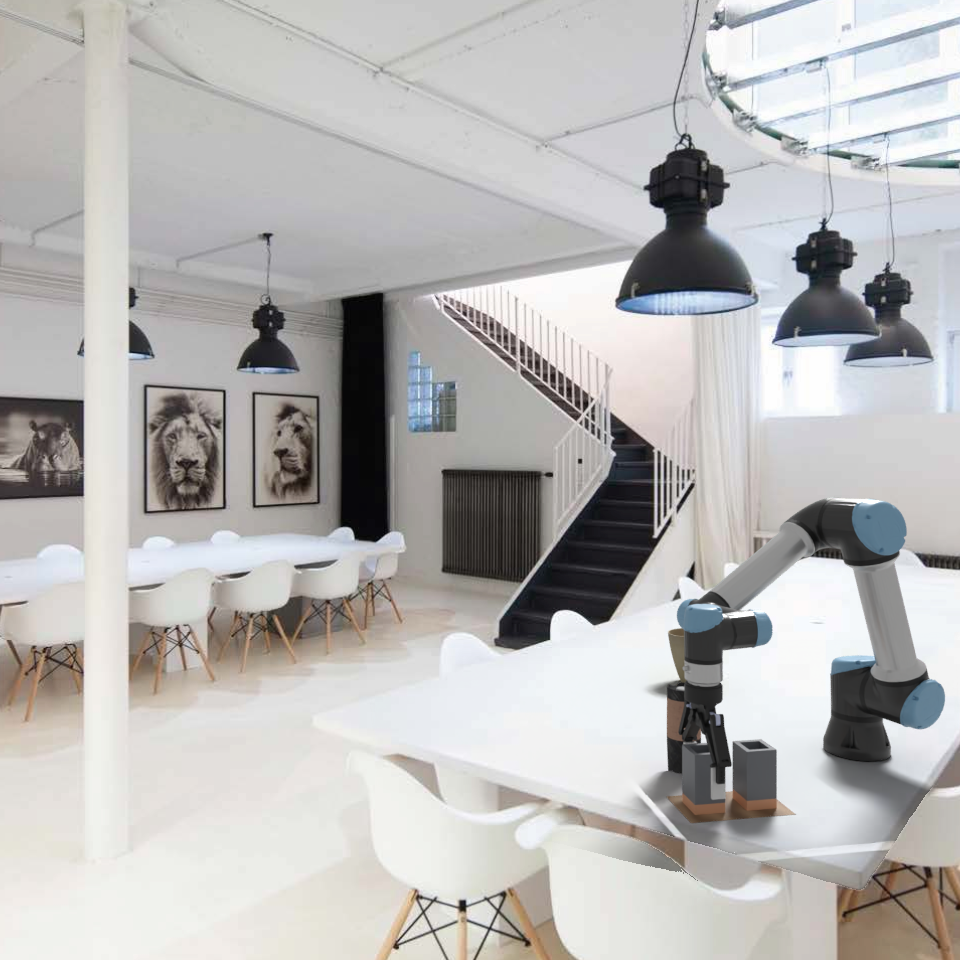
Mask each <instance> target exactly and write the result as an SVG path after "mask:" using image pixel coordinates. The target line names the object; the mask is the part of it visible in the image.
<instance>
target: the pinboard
mask: <svg viewBox="0 0 960 960" xmlns="http://www.w3.org/2000/svg"><path fill="white" fill-rule="evenodd" d="M665 797H666V799H668V801H669V802H670V803H671V804H672V805H673V806H674V807H675V808H676V809H677V810H678V811H679V812H680V813H681V815H683V817H685V818H686V819H687V821H688V822H689V823H690V824H697V823H710V822H720V821H721V822H723V821H732V820H733V821H734V820H747V819H758V818H760V819H761V818H768V817H769V818H771V817H778V816H779V817H781V816H782V817H783V816H792V815H793V816H795V815H797V814H796V813H795V812H793V811H792V810H791V809H790V808H788V807H787V806H786V805H785V804H784V803H782V801H780V800H778V799H777V808H775V809H762V810H750V811H747V810H746V809H744V808H743V807H742V806H741V805H740V804H739V803H738V802H737V801H735V800H734V799H733V790H732V791H726V799H725V813H713V814H701V815H695V814H694V813H693V812H692V811H691V810H690V809H689V808H688V807H687V806H686V805H685V804H684V803H683V802H682V794H681V795H669V796H668V795H667V796H665Z"/></svg>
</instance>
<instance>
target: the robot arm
mask: <svg viewBox="0 0 960 960" xmlns="http://www.w3.org/2000/svg"><path fill="white" fill-rule="evenodd" d="M778 531H779V532H777V534H776V535H774V536H773V537H772V538H771V539H770V540H768V541H767V542H766V543H765V544H764V545H762V546H761V547H760V548H759V549H758V550H757V551H755V552H754V553H752V554H751V556H749V557H748V558H747V559H746V560H744V561H743V562H742V563H741V564H740V565H739V566H737V567H736V568H734V570H733V571H732V572H730V573H729V574H728V575H726V577H724V578H723V579H722V580H721V581H719V582H718V583H716V585H714V587H712V588H711V589H710V590H709V591H708V592H707V593H706V594H704V595H703V596H701V597H700V598H699V599H698V598H687V599H685V600H684V601H682V602H681V603H680V604H679V606H678V608H677V611H676V620H677V623H678V625H679V627H680V628H682V629H684V658H685V666H683V670H684V671H685V679H686V680H687V681H686V682H685V683H684V709H683V713H682V717H681V722H680V726H679V731H678V733H679V735H682V740H683V741H684V742H683V744H697V742H696V741H693V740H698V739H697V734H698V732H699V730H700V729H701V735H704V737H705V740H706V743H707V745H708V748H709V752H710V755H711V759H712V762H713V763H712V764H711V765H710V767H711V799H712V800H716V799H726V792H727V791H726V790H727V789H726V787H727V786H726V768H731V767H733V762H732V758H731V754H730V748H729V743H728V738H727V734H726V733H727V732H726V729H725V716H724V714H723V713H717V710H716V709H717V708H716V706H717V705H719V704H721V703H722V701H723V700H724V699H723V697H724V696H723V695H724V693H723V692H724V691H723V688H724V686H723V684H722V682H723V681H724V680H723V679H724V670H723V669H724V661H723V654H724V651H730V650H731V651H732V650H740V649H747V648H748V649H749V648H751V649H755V648H756V647H760V646H761V647H762V646H765V645H767V644H768V643H769V642H770V641H771V639H772V638H773V634H774V633H773V631H774V630H773V622H772V620H771V618H770V616H769V615H768V614H767V613H766V612H765V611H763V610H761V609H751V608H750V609H747V610H742V609H744V607H746V606H748V604H749V603H750V602H751V601H753V600H754V599H755V598H756V597H758V596H759V595H760V594H761V593H762V592H763V591H765V590H766V589H767V588H768V587H769V586H771V584H773V583H774V582H775V581H776V580H777V579H779V578H780V577H781V576H783V575H784V574H785V573H786V572H787V571H788V570H789V569H790V568H791V567H793V566H794V565H795V564H796V563H798V562H799V561H800V560H801V559H802V558H809V557H812V556H813V555H814V554H815V553H816V552H818V551H819V550H823V549H828V548H829V549H830V548H832V549H837V550H840V552H841V555H842V560H843V563H844V565H845V566H848V567H849V568H851V569H852V570H853V571H852V572H853V574H854V579H855V582H856V587H857V591H858V595H859V598H860V602H861V603H860V604H861V608H862V610H863V611H862V612H863V616H864V621H865V624H866V628H867V632H868V636H869V640H870V645H871V649H872V654H873V655H860V654H859V655H858V654H857V655H845V656H844V655H843V656H838V657H836V658H834V659H833V660H832V662H831V667H830V669H831V670H830V673H829V675H830V718H829V721H828V724H827V726H826V728H825V733H824V734H823V738H822V739H823V742H822V747H823V749H824V750H825V751H826V752H827V753H829V754H831V755H833V756H836V757H840V758H843V759H848V760H853V761H861V762H862V761H863V762H878V761H884V760H887V759H889V758H890V757H891V755H892V746H891V742H890V738H889V737H888V733H887V730H886V727H885V724H884V720H887V721H889V722H892V723H895V724H899V725H902V726H903V727H905V728H912V729H916V730H925V729H928V728H930V727H932V726H933V725H934V724H935V723H936V722H937V721H938V720H939V719H940V716H941V715H942V712H943V711H944V707H945V704H946V703H945V702H946V692H945V689H944V687H943V685H942V684H941V683H940V682H938V681H937V680H936V679H932V678H930V677H929V673H928V669H927V665H926V663H925V661H923V660H921V659H919V658H917V653H916V650H915V649H916V648H915V646H914V640H913V637H912V632H911V628H910V627H911V626H910V624H909V620H908V615H907V611H906V606H905V602H904V597H903V595H902V591H901V587H900V586H901V585H900V581H899V577H898V574H897V568H896V564H895V562H896V560H897V559H898V558H899V557H900V555H901V552H900V551H901V550H902V548H903V547H904V545H905V543H906V539H905V537H906V536H907V534H908V532H907V531H908V530H907V523H906V520H905V517H904V516H903V514H902V513H901V511H900V509H898V507H896V506H895V505H893V504H892V503H891V502H888V501H886V500H878V499H875V498H865V499H864V498H850V497H849V498H847V497H845V498H844V497H835V496H834V497H828V498H822V499H819V500H817V501H815V502H812V503H811V504H809V505H807V506H805V507H804V508H802V509H800V510H798V511H797V512H796V513H795V514H793V515H792V516H790V517H789V518H788V519H787V520H785V521H784V522H782V523H781V525H780V526H779V530H778ZM684 728H685V729H684Z"/></svg>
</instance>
